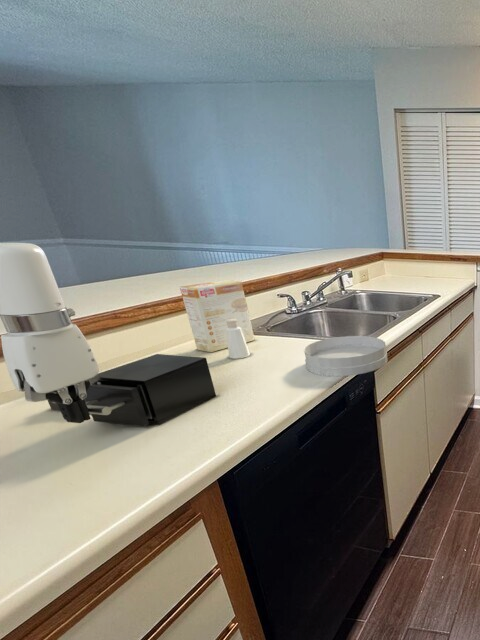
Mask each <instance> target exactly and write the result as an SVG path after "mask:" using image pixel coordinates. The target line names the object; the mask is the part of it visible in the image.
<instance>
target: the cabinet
mask: <svg viewBox="0 0 480 640" xmlns="http://www.w3.org/2000/svg"><path fill="white" fill-rule="evenodd" d="M98 375H99V376H100V380H99V381H108V382H120V383H132V384H143V388H144V391H145V394H146V396H147V399H148V402H149V405H150V408H151V411H152V414H153V417H154V418H153V419H148V422H149V424H148V425H154V426H155V425H156V426H160V425H162V424H164V423H166V422H168V421H170V420H172V419H174V418H175V417H176V418H177V417H178V416H180V415H183V414H185V413H186V412H189V411H190V410H192V409H194V408H196V407H198V406H200V405H202V404H204V403H206V402H209V401H210V400H212V399H215V398H216V397H217V394H216V389H215V386H214V382H213V379H212V374H211V371H210V368H209V364H208V359H207V357H203V356H190V355H189V356H188V355H178V354H177V355H175V354H164V353H163V354H161V353H160V354H159V353H156V354H153V355H150V356H147V357H144V358H141V359H137V360H135V361H132V362H129V363H125V364H122V365H119V366H116V367H114V368H110V369H108V370H104V371H101V372H99V373H98ZM97 382H98V381H97ZM97 382H95V383H94V384H97Z"/></svg>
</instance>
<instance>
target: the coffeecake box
mask: <svg viewBox="0 0 480 640" xmlns="http://www.w3.org/2000/svg"><path fill="white" fill-rule="evenodd" d="M179 290H180V294H181V297H182V300H183V301H182V302H183V304H184V309H185V311H186V314H187V318H188V322H189V325H190V329H191V333H192V336H193V340H194V343H195V347H196V350H197V351H201V352H207V353H213V352H214V353H215V352H217V351H221V350H224V349H228V343H227V334H226V329H227V328H228V326H227V323H226V320H228V319H237V323H238V327H240V328H241V330H242V332H243V335H244V338H245V341H246V343H250V342H253V341H255V340H256V339H255V335H254V330H253V325H252V322H251V316H250V313H249V307H248V303H247V299H246V295H245V291H244V285H243V282H242V281H240V280H234V279H224V280H218V281H210V282H203V283H202V282H201V283H197V284H196V283H195V284H190V285H182V286H179Z"/></svg>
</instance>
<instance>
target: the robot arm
mask: <svg viewBox="0 0 480 640" xmlns="http://www.w3.org/2000/svg"><path fill="white" fill-rule="evenodd" d="M75 316H76V311H75V310H74V308H68V307H67V306H66V305H65V302H64V299H63V297H62V294H61V291H60V288H59V286H58V283H57V281H56V278H55V275H54V273H53V270H52V267H51V265H50V263H49V260H48V258H47V255H46V253H45V251H44V250H43V248H42V247H40V246H39V245H37V244H34V243H30V242H0V320H1V322H2V324H3V327H4V329H5V330H6V333H5V334H1V335H0V341H1V349H2V355H3V358H4V362H5V365H6V368H7V372H8V374H9V377H10V380H11V382H12V384H13V386H14V388H15V390H17V391H18V392H22V393H23V392H24V399H25V401H26V402H31V403H33V402H34V403H38V402H46V401H47V402H48V401H51V402H53V403H57V404H58V406H59V409H60V410H59V411H60V413H61V416H62V417H63V419H64V420H65V421H66V422H67V423H73V424H82V423H84V422H85V421H89V420H91V416H90V414H89V410H88V407H87V405H86V402H85V400H84V399H85V398H86V397H87V393H86V392H87V390H88V389H89V387H90V385H92V384H94V383H95V382H97V381H99V380H100V376H99V375H98V373H100V367H99V364H98V361H97V358H96V357H95V354H94V352H93V349H92V348H91V346H90V344H89V342H88V340H87V338H86V337H85V335H84V334H83V332H82V331H81V329H80V327H78V326H77V324H75V323H72V318H71V317H75Z"/></svg>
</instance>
